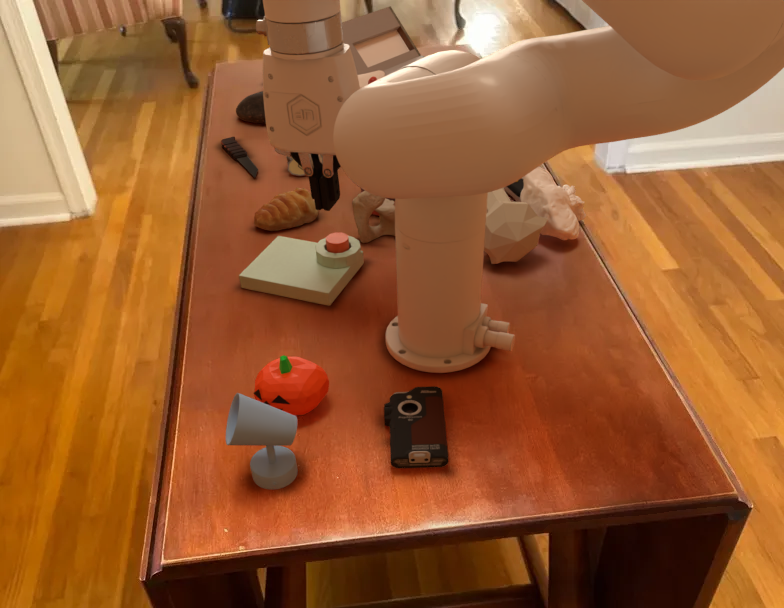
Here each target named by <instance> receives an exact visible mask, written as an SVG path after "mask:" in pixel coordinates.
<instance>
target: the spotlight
mask: <svg viewBox="0 0 784 608" xmlns="http://www.w3.org/2000/svg"><path fill="white" fill-rule="evenodd" d="M297 431H298V417H297V415H292V414H290V413H287V412H285V411H282V410H280V409H277V408H275V407H272V406H270V405H267V404H265V403H262V402H260V401H257V400H256V399H255V398H253V397H250V396H247V395H244V394H242V393H240V392H236V393H235V395H234V396H233V399H232V401H231V404H230V407H229V411H228V415H227V421H226V425H225V445H226V446H259V447H261V446H263V447H262V448H261V449H259V450H257V451H256V452H255V453H253V455H252V457H251V459H250V462H249V468H250V471H251V477H252V480H253V482H254V483H255V484H256V486H258V487H260V488H261V489H265V490H280V489H283V488H286V487H287V486H289V485H291V484H292V483H293V482H294V481H295V480H296V478H297V476H298V472H299V469H298V463H297V460H296V459H297V457H296V455H295V453H294V452H293V451H292V450H291V449H290V448H288V446H289V447H290V446H292V445H293V443H294V442H295V438H296V435H297ZM264 446H265V447H264Z"/></svg>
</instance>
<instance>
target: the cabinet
mask: <svg viewBox="0 0 784 608" xmlns="http://www.w3.org/2000/svg"><path fill="white" fill-rule="evenodd" d="M342 30H343V41H344V44H348V45H349V46H350V50H351V53H352V56H353V59H354V63H355V67H356V71H357V75H361V74H366V73H370V72H374V71H378V70H380V71H383V72H384V73H385V76H387V75H389V74H391V73H393V72H395V71H397V70H398V69H400V68H402V67H405V66H407V65H409V64H411V63H413V62H415V61H417V60H419V59H422V58H424V57H426V56H427V55H426V56H425V55H422V54H421V52H420V51H419V49H418V48H417V46H416V45H415V43H414V41H413V40H412V38H411V37H410V34H408V32H407V30H406V28H405V27H404V26H403V24H402V22H401V21H400V18H399V17H398V16H397V14H396V12H395V11H394V9H393V8H392V6H390V5H389V6H387V7H383V8H382V9H378V10H375V11H371V12H369V13H366V14H363V15H360V16H358V17H354V18H352V19H348V20H345V21H342ZM385 76H384V77H385Z"/></svg>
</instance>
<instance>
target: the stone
mask: <svg viewBox="0 0 784 608" xmlns="http://www.w3.org/2000/svg"><path fill="white" fill-rule="evenodd" d="M235 114H236V116H237V117H238V118H239V119H240V120H242V121H244V122H249V123H256V124H266V119H265V110H264V98H263V90H262V91H258V92H254V93H252V94H249V95H247V96H246V97H244V98H243V99H241V101H240V102H239V103H238V104H237V106H236V108H235Z"/></svg>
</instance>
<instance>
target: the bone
mask: <svg viewBox="0 0 784 608" xmlns="http://www.w3.org/2000/svg"><path fill="white" fill-rule="evenodd" d="M394 203H395V202H394V201H392V200H391V201H390V200H389V199H386V198H384V197H380V196H376V195H373V194H371V193H369V192H367V191H363V192H362V193H361V192H360V193H358V194H357V195H356V196H354V198H353V199H352V202H351V204H352V212H353V218H354V222H355V226H356V229H357V233H358V237H359V242H360V243H362V244H367V243H371V242H372V241H373V240H376V239H378V238H380V237H382V236H394V237H395V206H394ZM374 210H375V211H376V212H377V213H379V215H380V216H379V217H378V219H379V223H378V224H377V225H373V226H372V225H370V224H369V223H370V218H371V216H372V215H373V214H372V212H373V211H374Z"/></svg>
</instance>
